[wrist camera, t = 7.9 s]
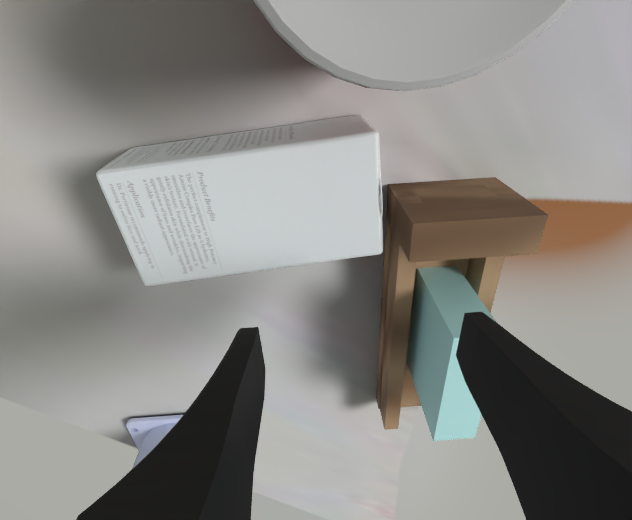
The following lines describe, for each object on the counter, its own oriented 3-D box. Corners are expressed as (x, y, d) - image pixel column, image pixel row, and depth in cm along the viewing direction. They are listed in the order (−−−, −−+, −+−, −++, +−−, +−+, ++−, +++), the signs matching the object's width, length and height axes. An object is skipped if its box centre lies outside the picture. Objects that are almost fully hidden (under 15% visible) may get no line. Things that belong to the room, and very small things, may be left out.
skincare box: (163, 247, 22) (367, 220, 22) (138, 292, 18) (385, 260, 18) (124, 141, 19) (363, 111, 19) (83, 169, 15) (384, 131, 15)
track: (449, 392, 30) (475, 451, 26) (376, 397, 30) (389, 458, 26) (495, 177, 21) (548, 215, 16) (388, 184, 20) (413, 223, 16)
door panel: (439, 359, 26) (474, 437, 21) (406, 362, 26) (433, 440, 21) (456, 265, 22) (505, 334, 17) (417, 268, 22) (453, 338, 17)
